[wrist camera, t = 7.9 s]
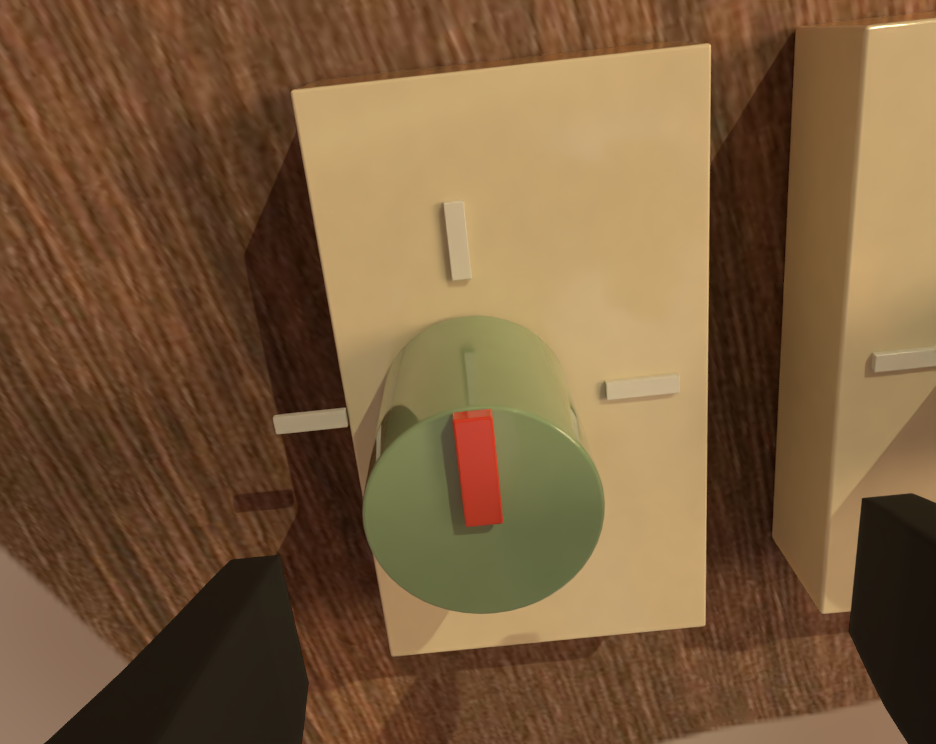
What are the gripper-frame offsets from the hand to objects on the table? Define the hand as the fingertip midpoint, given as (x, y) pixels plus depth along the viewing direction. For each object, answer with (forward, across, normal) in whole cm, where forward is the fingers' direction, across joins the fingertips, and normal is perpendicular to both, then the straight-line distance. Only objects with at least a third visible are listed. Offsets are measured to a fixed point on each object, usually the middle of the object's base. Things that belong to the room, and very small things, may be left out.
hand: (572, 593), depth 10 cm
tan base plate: (+9, 0, 0) cm, 9 cm away
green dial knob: (+6, +1, 0) cm, 6 cm away
